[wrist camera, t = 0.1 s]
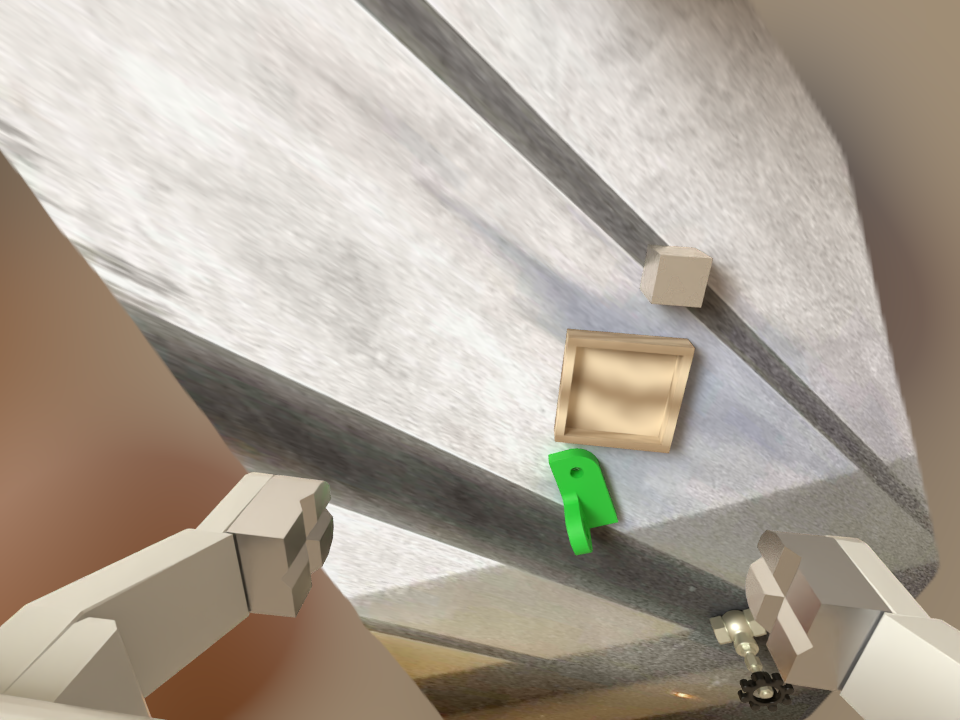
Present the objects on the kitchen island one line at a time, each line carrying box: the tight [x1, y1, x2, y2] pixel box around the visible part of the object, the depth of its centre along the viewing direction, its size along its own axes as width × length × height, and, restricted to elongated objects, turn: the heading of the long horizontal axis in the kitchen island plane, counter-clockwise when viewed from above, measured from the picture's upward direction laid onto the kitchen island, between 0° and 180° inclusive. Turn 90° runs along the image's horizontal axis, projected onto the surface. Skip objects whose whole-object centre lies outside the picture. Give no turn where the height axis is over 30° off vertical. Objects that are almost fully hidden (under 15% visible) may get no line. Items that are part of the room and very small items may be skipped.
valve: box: [710, 609, 794, 712], centre depth 67 cm, size 7×7×12 cm
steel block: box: [640, 244, 713, 308], centre depth 51 cm, size 5×5×6 cm
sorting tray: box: [554, 329, 695, 453], centre depth 58 cm, size 14×14×3 cm
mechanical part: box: [548, 448, 618, 555], centre depth 62 cm, size 12×6×8 cm, turn 21°
